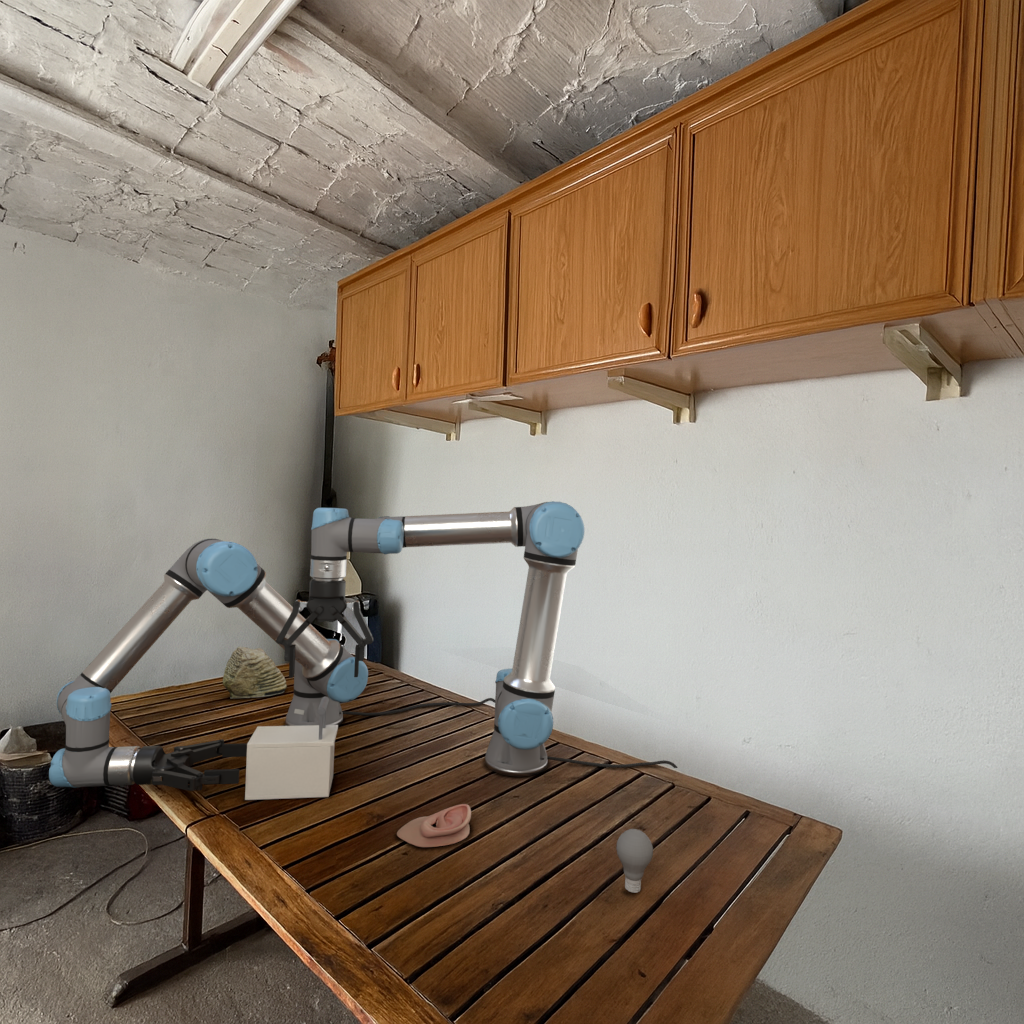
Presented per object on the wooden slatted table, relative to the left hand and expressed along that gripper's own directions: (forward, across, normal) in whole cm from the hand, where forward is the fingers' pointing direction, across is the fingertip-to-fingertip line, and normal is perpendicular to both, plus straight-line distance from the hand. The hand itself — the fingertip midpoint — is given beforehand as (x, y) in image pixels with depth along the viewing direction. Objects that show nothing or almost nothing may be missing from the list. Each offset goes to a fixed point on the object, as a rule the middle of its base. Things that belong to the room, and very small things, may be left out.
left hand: (246, 762), depth 135 cm
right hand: (+15, 0, +18) cm, 24 cm away
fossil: (-12, -66, -6) cm, 67 cm away
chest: (+9, 0, -6) cm, 11 cm away
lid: (+10, 0, +5) cm, 11 cm away
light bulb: (+71, +43, -6) cm, 83 cm away
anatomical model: (+39, +21, -6) cm, 45 cm away
